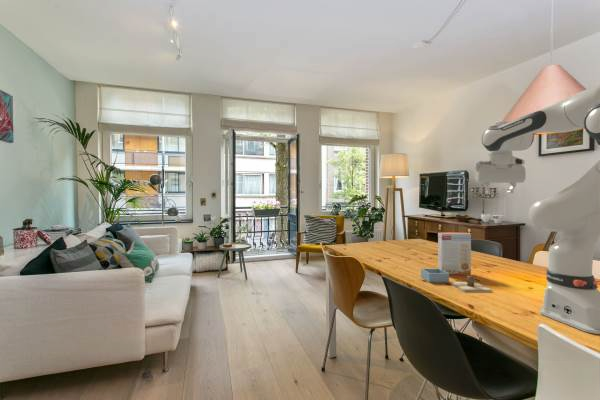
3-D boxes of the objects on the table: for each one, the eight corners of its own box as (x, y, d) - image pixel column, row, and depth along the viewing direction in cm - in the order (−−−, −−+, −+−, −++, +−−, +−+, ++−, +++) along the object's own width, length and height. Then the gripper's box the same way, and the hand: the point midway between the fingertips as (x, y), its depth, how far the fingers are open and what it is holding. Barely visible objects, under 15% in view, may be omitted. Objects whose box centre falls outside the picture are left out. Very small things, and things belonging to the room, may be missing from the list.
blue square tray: (448, 283, 138) (449, 273, 138) (429, 283, 138) (429, 273, 138) (439, 277, 147) (439, 268, 147) (420, 278, 147) (420, 268, 147)
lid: (491, 291, 125) (491, 280, 125) (465, 291, 125) (465, 280, 125) (475, 283, 136) (475, 273, 136) (451, 283, 136) (451, 273, 136)
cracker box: (465, 273, 156) (466, 232, 156) (471, 276, 150) (471, 233, 150) (437, 272, 157) (437, 231, 157) (441, 275, 151) (442, 233, 151)
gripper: (480, 160, 129) (479, 193, 129) (528, 160, 129) (528, 193, 129) (471, 161, 135) (471, 193, 135) (517, 162, 135) (517, 193, 135)
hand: (499, 193), depth 132 cm, fingers open, 8 cm apart
